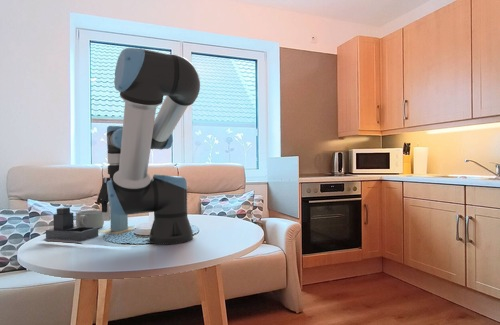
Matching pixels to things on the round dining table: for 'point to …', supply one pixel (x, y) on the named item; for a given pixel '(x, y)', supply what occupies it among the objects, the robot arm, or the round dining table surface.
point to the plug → (118, 222)
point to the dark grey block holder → (68, 228)
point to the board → (116, 231)
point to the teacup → (89, 218)
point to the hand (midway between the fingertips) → (118, 217)
